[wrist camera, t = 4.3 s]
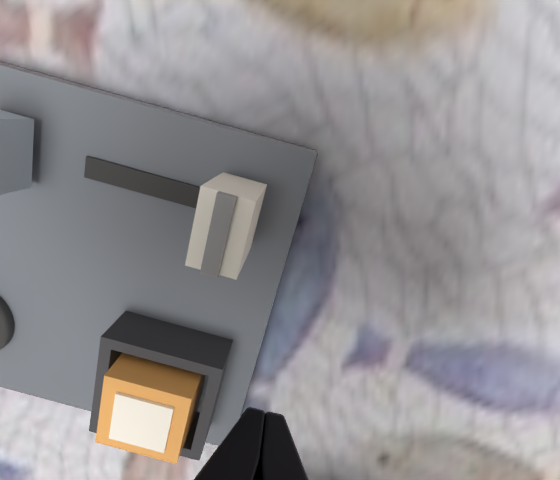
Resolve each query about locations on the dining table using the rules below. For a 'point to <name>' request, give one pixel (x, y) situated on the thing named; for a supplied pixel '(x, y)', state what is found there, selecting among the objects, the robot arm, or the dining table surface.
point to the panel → (134, 248)
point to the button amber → (148, 407)
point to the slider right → (224, 225)
